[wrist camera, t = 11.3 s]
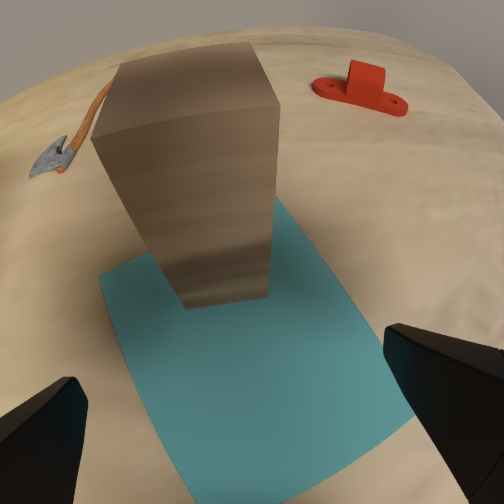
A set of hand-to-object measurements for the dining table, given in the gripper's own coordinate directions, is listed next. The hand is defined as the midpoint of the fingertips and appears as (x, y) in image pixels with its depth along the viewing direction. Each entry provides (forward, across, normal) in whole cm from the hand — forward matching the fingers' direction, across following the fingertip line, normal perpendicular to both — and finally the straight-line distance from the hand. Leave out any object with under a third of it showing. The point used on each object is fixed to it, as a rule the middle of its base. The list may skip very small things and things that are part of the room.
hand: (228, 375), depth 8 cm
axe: (+31, +15, -16) cm, 38 cm away
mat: (+9, -1, +5) cm, 10 cm away
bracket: (+26, -18, -12) cm, 34 cm away
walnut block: (+12, 0, +1) cm, 12 cm away
